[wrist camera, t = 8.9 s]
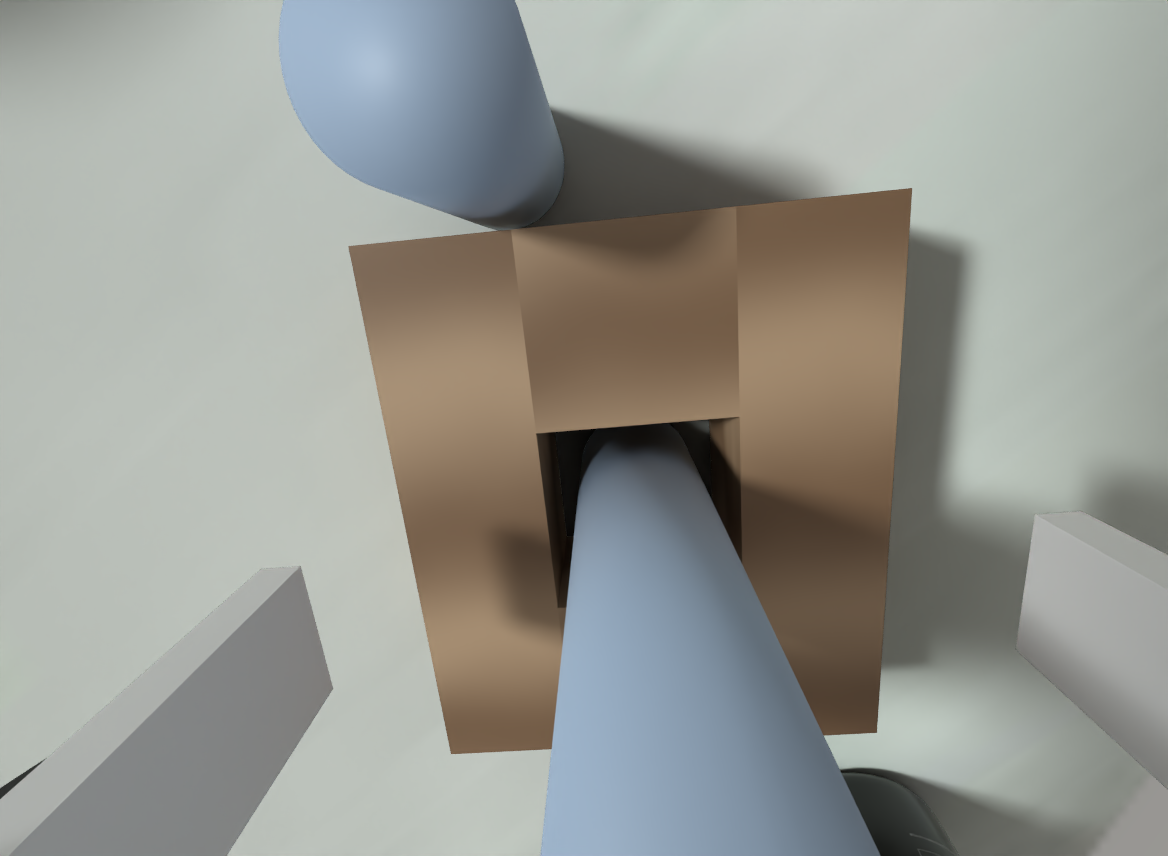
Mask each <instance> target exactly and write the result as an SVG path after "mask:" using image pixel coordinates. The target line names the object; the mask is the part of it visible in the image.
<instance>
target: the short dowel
mask: <svg viewBox="0 0 1168 856" xmlns="http://www.w3.org/2000/svg"><path fill="white" fill-rule="evenodd" d="M279 52H280V61H281V67H282V74H283V78H284V81H285V85H286V89H287V92H288V95H289V97H290V100H291V103H292V105H293V108H294V110H295V112H296V114H297V116H298V118H299V120H300V121H301V123H302V125H303V127H304V128H305V130H306V131H307V133H308V134H309V136H310V137H311V139H312V140H313V141H314V143H315V144H316V145H317V146H318V147H319V148H320V150H321V151H322V152H323V153H324V154H325V155H326V156H327V157H328V158H329V159H330V160H331V161H332V162H334V163H335V164H336V165H337V166H338V167H340V168H341V169H342V170H344V171H345V172H346V173H348V174H349V175H351V176H353V177H354V178H356V179H358V180H360V181H362V182H363V183H366V184H368V185H371V186H373V187H376V188H378V189H381V190H384V191H386V192H389V193H392V194H395V195H398V196H401V197H403V198H406V199H409V200H412V201H415V202H417V203H420V204H423V205H426V206H429V207H431V208H434V209H437V210H440V211H443V212H446V213H448V214H451V215H454V216H457V217H460V218H462V219H465V220H468V221H471V222H474V223H476V224H479V225H482V226H485V227H488V228H492V229H496V230H512V229H519V228H522V227H525V226H528V225H530V224H532V223H534V222H535V221H537V220H538V219H540V218H541V217H542V216H543V215H544V214H545V213H546V212H547V211H548V210H549V209H550V207H551V206H552V205H553V203H554V202H555V200H556V198H557V196H558V194H559V192H560V189H561V186H562V182H563V177H564V154H563V149H562V145H561V141H560V138H559V135H558V132H557V129H556V126H555V123H554V120H553V116H552V113H551V110H550V107H549V104H548V101H547V98H546V95H545V91H544V88H543V85H542V82H541V79H540V76H539V73H538V70H537V67H536V63H535V60H534V57H533V54H532V51H531V48H530V45H529V42H528V39H527V35H526V32H525V29H524V26H523V23H522V20H521V17H520V14H519V10H518V7H517V5H516V3H515V0H284V1H283V6H282V11H281V17H280V28H279Z"/></svg>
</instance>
